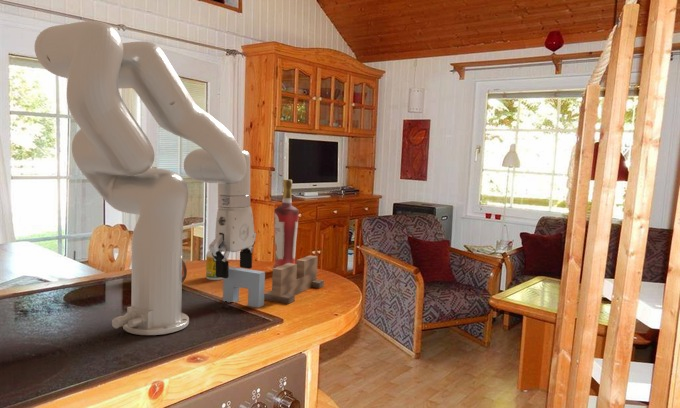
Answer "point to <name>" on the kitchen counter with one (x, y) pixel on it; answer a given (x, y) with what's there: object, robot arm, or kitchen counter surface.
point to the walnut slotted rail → (293, 280)
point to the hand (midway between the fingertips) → (234, 272)
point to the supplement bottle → (211, 266)
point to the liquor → (285, 228)
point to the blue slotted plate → (244, 286)
